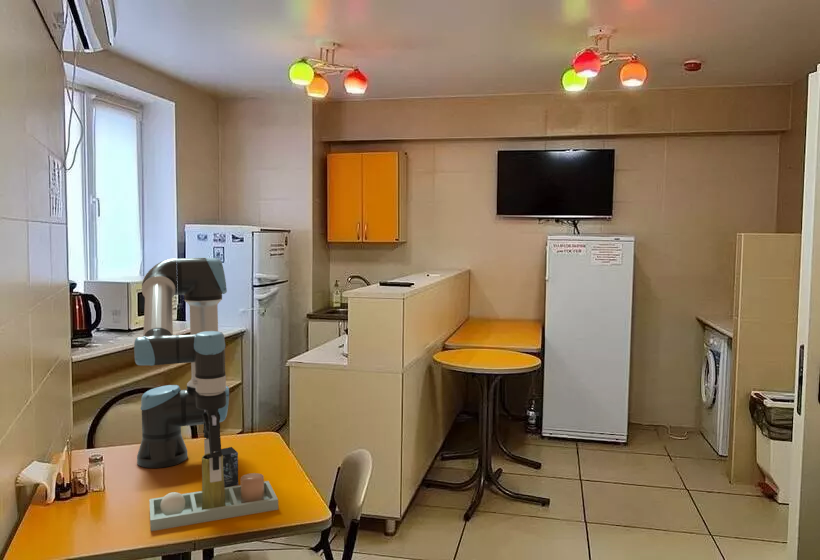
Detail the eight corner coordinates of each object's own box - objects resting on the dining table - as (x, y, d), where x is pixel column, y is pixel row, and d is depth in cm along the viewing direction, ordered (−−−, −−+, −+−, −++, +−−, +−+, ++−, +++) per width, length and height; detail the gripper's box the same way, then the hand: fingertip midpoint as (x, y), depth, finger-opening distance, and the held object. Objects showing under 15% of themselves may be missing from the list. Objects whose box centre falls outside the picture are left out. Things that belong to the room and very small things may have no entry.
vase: (203, 516, 164) (202, 461, 163) (199, 507, 170) (198, 454, 169) (228, 511, 167) (226, 457, 166) (223, 502, 173) (221, 450, 172)
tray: (149, 511, 169) (149, 499, 169) (268, 492, 181) (268, 480, 181) (150, 534, 157) (150, 520, 156) (278, 512, 169) (278, 499, 168)
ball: (160, 513, 166) (159, 490, 166) (184, 509, 169) (184, 486, 168) (161, 522, 161) (160, 499, 160) (186, 518, 163) (185, 495, 163)
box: (211, 493, 180) (210, 457, 180) (205, 487, 185) (204, 451, 184) (239, 487, 185) (238, 451, 184) (232, 481, 189) (231, 446, 189)
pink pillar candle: (239, 500, 174) (239, 475, 174) (261, 496, 176) (261, 471, 176) (242, 509, 169) (242, 483, 168) (266, 505, 171) (265, 479, 170)
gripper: (191, 381, 176) (193, 456, 178) (199, 406, 153) (202, 492, 155) (220, 379, 179) (221, 452, 181) (232, 403, 156) (234, 487, 158)
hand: (212, 471), depth 168 cm, fingers open, 13 cm apart
